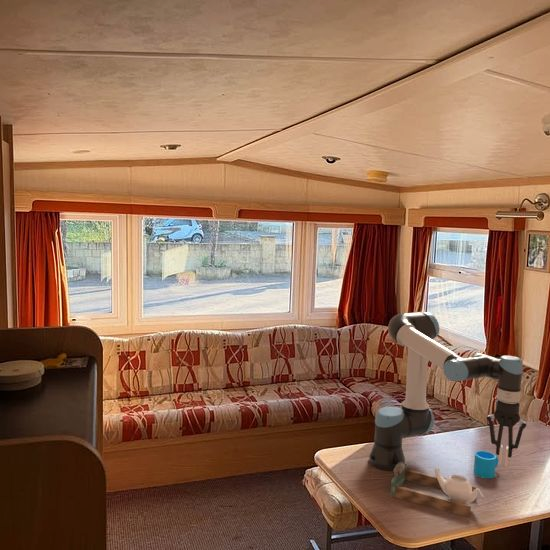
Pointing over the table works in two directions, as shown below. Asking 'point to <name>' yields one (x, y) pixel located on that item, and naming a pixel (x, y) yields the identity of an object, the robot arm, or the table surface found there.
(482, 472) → the mug
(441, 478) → the teapot
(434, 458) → the table surface
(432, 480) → the bay
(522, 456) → the table surface
